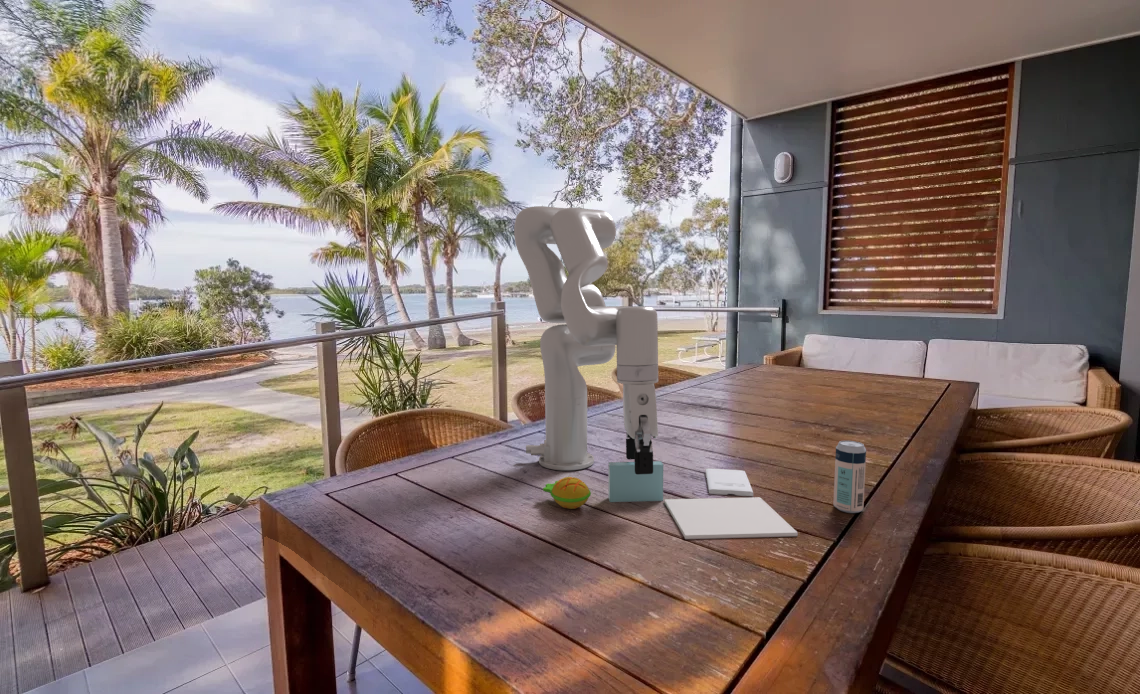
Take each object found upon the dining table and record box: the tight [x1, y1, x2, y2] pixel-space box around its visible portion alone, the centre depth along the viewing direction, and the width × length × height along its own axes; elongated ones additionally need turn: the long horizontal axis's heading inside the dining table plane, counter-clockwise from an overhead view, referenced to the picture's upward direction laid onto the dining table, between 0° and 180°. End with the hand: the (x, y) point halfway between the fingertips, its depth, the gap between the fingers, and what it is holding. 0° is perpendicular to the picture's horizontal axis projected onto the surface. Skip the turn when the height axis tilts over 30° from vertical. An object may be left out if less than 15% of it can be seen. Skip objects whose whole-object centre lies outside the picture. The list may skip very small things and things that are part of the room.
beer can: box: [832, 440, 867, 514], centre depth 96 cm, size 5×5×12 cm
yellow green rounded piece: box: [542, 476, 592, 510], centre depth 99 cm, size 7×10×5 cm
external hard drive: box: [705, 468, 754, 497], centre depth 110 cm, size 2×8×12 cm
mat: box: [663, 496, 799, 540], centre depth 93 cm, size 18×15×1 cm
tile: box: [607, 460, 664, 503], centre depth 101 cm, size 10×2×7 cm, turn 93°
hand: (639, 465), depth 100 cm, fingers open, 9 cm apart
